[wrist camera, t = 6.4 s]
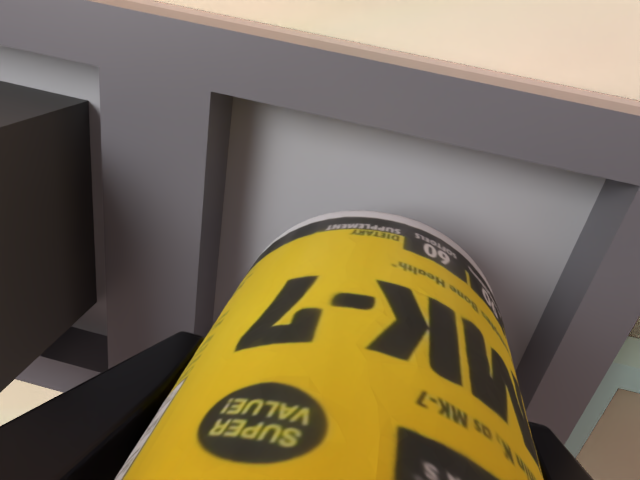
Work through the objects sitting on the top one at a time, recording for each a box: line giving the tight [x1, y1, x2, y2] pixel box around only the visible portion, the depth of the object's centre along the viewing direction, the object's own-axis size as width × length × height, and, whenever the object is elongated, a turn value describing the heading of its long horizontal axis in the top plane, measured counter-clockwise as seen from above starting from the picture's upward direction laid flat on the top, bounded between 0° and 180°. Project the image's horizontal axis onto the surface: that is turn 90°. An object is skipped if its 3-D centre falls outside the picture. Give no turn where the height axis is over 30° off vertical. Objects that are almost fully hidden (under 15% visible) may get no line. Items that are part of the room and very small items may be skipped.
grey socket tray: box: [0, 0, 640, 445], centre depth 11 cm, size 9×18×2 cm, turn 80°
